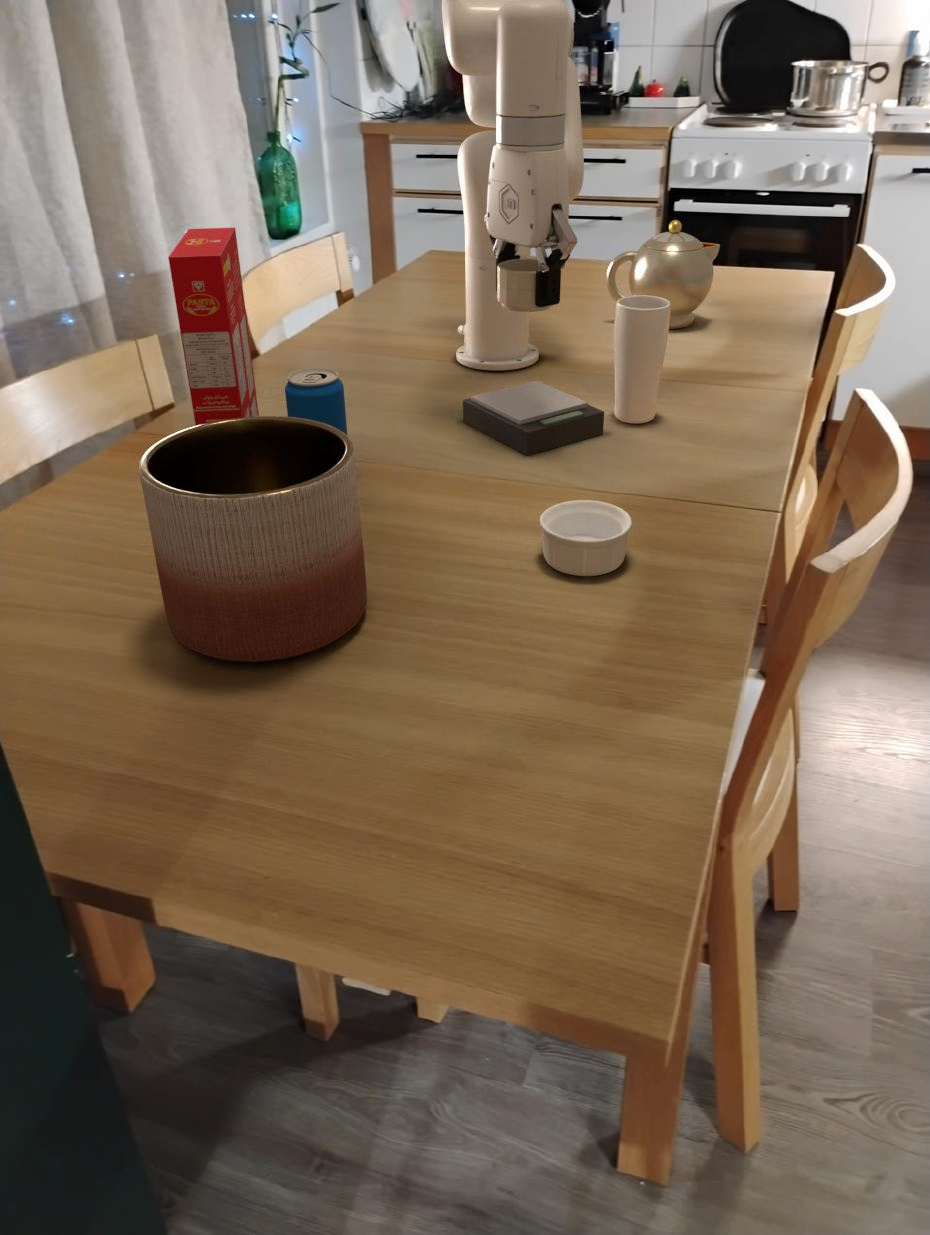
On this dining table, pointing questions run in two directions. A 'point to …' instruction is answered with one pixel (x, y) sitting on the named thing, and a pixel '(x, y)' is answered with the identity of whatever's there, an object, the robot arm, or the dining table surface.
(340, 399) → the beverage can
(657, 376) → the drinking glass
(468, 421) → the scale
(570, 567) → the ramekin
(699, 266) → the teapot
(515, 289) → the bowl
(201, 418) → the food packaging
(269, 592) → the planter
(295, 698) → the dining table surface
